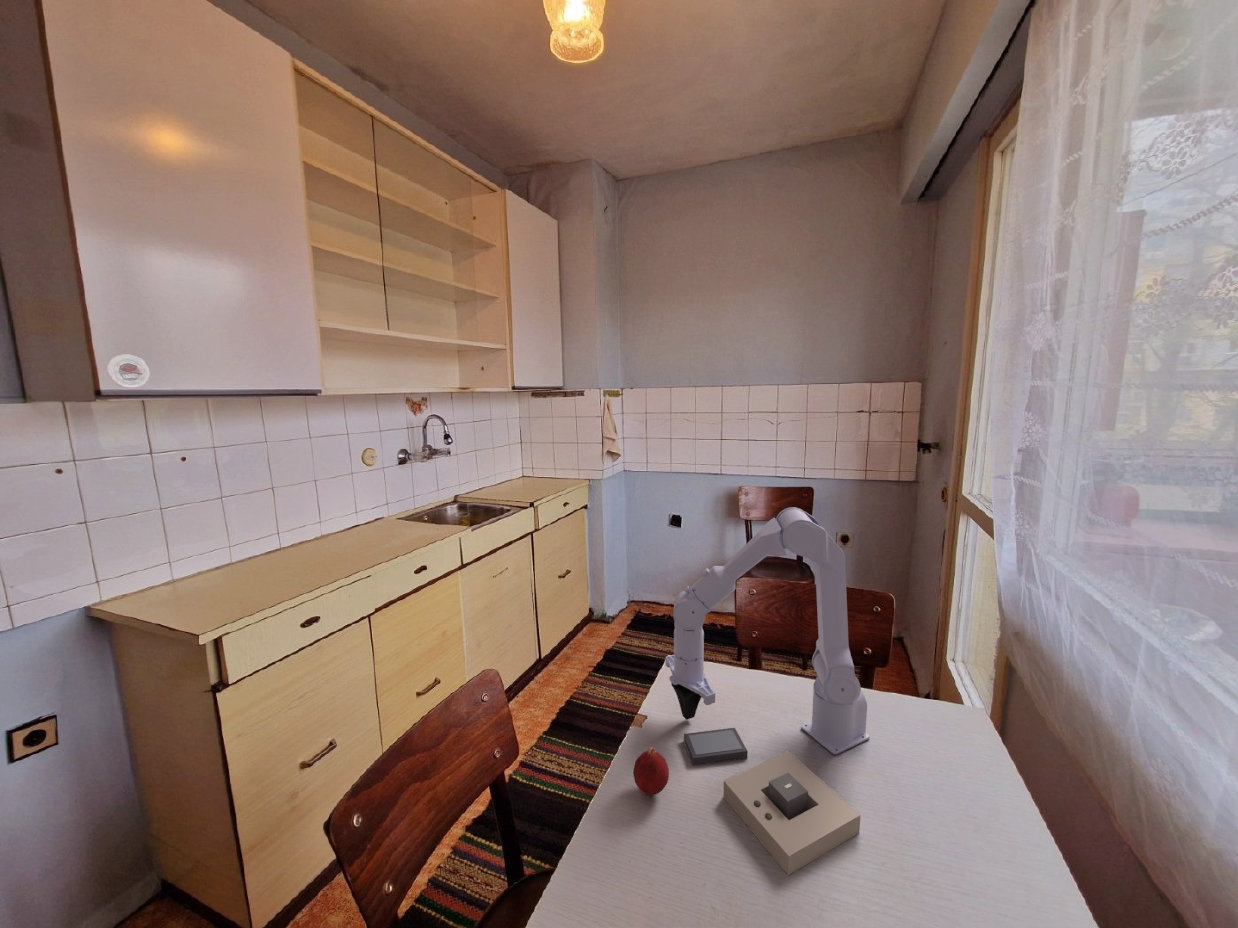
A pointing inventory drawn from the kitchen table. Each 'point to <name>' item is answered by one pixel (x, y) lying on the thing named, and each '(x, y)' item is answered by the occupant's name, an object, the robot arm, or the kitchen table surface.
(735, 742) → the phone
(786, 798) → the block
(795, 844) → the outlet plate
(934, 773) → the kitchen table surface
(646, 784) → the onion
